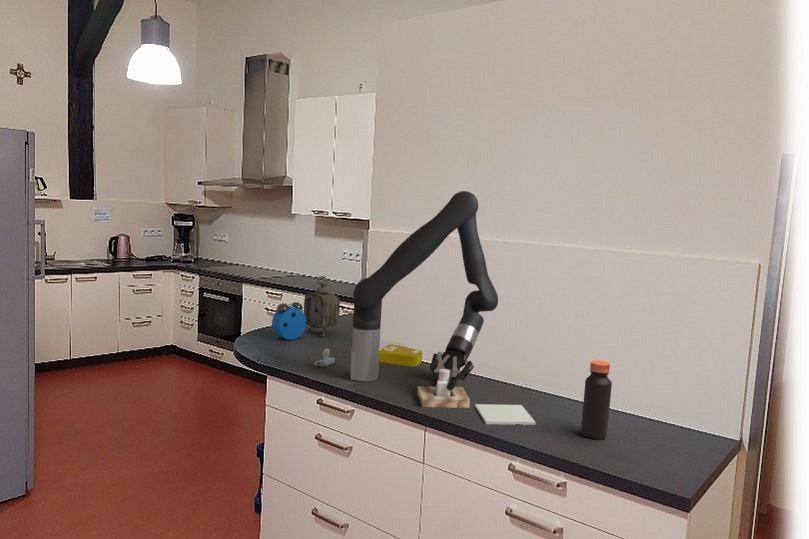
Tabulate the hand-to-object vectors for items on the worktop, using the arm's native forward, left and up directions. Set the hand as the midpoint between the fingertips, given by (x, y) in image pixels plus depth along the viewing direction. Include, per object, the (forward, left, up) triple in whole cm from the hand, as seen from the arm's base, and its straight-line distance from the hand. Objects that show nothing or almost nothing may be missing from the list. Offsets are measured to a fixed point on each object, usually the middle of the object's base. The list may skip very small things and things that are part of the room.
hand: (440, 387), depth 192 cm
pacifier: (-36, +38, -5) cm, 53 cm away
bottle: (+38, -25, -5) cm, 46 cm away
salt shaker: (+1, +1, -5) cm, 5 cm away
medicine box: (+4, +23, -5) cm, 24 cm away
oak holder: (+1, +1, -5) cm, 5 cm away
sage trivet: (+17, -11, -5) cm, 21 cm away
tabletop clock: (-38, +85, -5) cm, 94 cm away
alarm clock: (-51, +75, -5) cm, 91 cm away
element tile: (-7, +48, -5) cm, 49 cm away
